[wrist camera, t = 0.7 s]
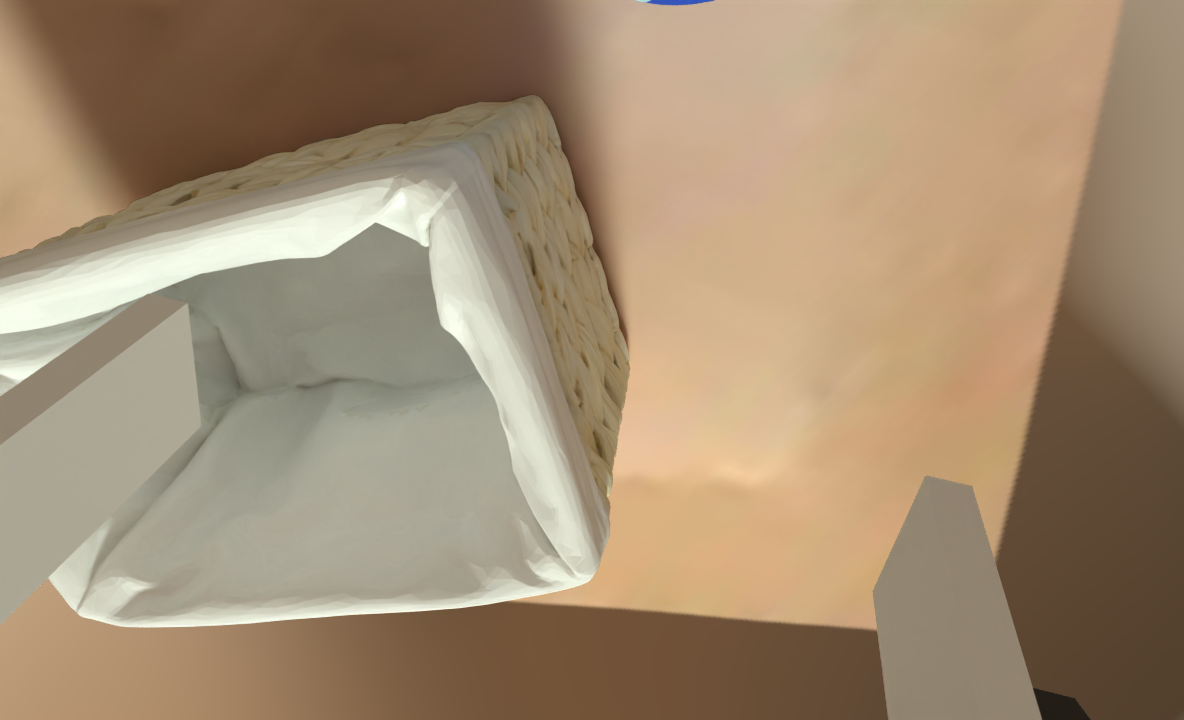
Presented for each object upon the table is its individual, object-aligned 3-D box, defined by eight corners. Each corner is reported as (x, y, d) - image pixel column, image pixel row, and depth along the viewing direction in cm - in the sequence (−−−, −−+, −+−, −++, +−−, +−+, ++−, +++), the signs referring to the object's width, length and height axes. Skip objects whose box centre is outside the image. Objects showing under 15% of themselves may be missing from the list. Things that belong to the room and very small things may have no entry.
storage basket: (258, 446, 49) (81, 648, 37) (106, 177, 42) (-176, 315, 30) (663, 380, 42) (615, 604, 30) (563, 44, 35) (444, 152, 23)
